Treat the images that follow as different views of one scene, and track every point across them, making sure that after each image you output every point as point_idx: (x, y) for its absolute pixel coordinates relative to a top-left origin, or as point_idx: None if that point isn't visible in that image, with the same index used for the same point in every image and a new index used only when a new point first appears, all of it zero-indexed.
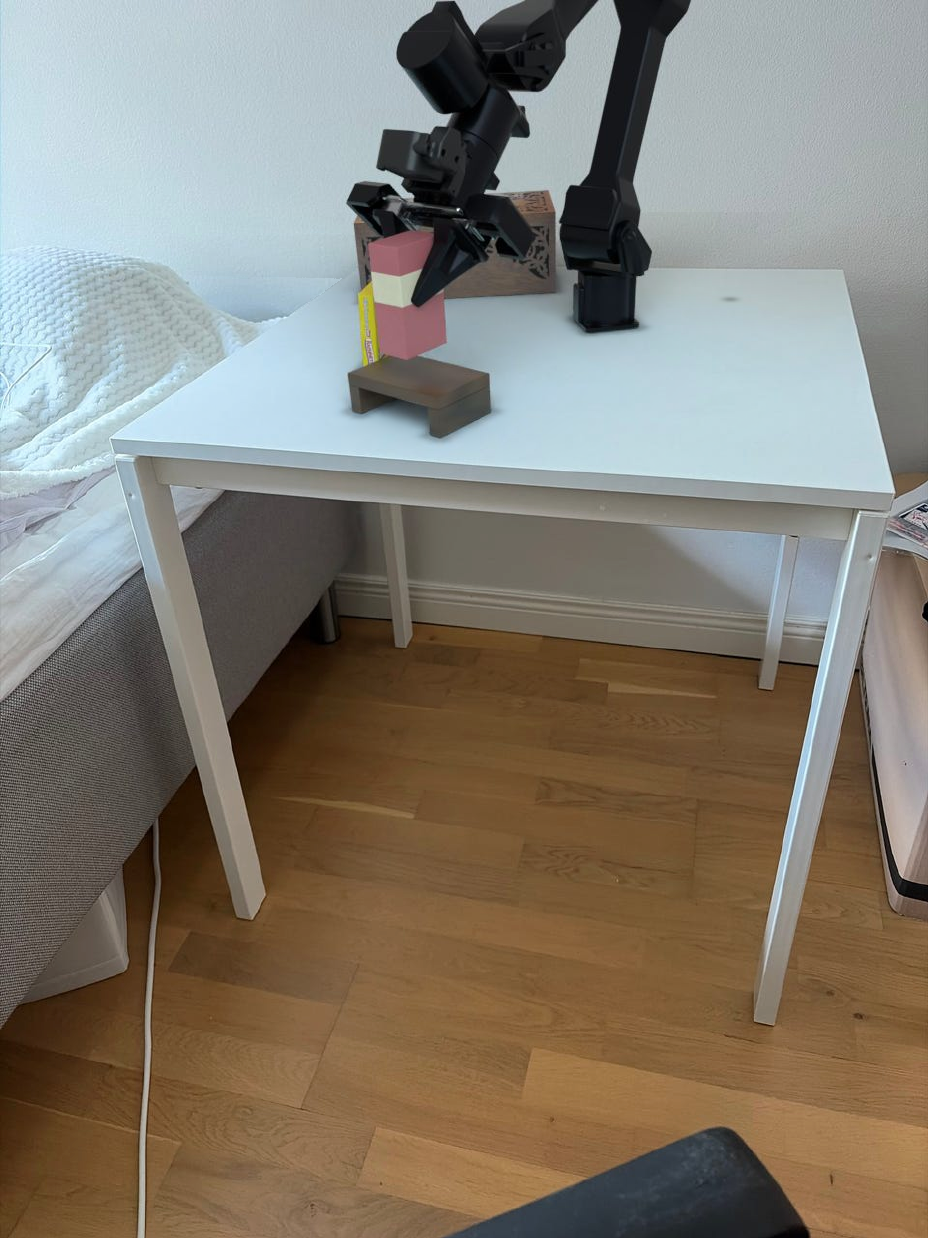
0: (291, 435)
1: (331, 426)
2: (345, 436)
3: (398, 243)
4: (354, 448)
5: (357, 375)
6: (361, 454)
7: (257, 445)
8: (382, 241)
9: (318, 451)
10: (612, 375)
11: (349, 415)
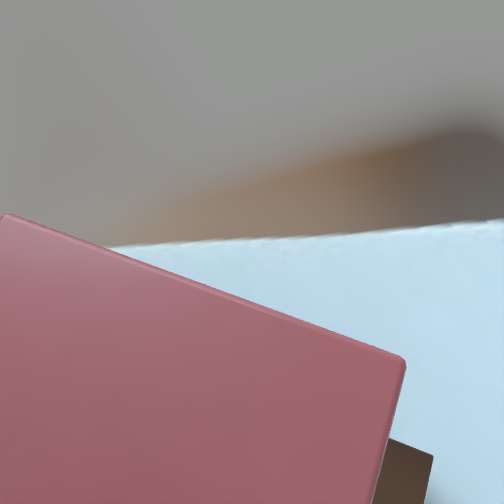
0: (455, 292)
1: (399, 355)
2: (339, 312)
3: (20, 382)
4: (291, 264)
5: (390, 440)
6: (266, 244)
7: (490, 234)
8: (263, 470)
9: (354, 237)
10: None
11: (393, 428)
